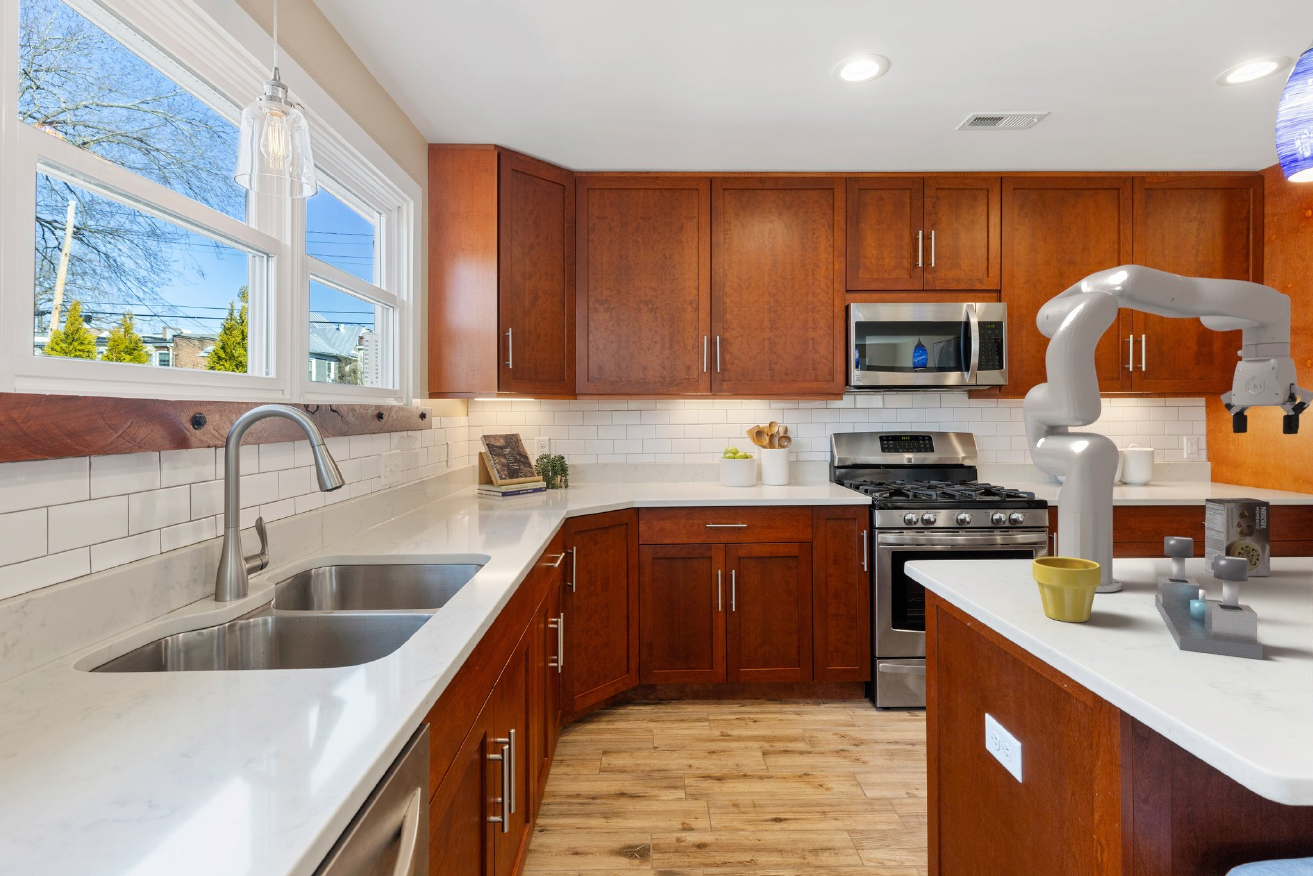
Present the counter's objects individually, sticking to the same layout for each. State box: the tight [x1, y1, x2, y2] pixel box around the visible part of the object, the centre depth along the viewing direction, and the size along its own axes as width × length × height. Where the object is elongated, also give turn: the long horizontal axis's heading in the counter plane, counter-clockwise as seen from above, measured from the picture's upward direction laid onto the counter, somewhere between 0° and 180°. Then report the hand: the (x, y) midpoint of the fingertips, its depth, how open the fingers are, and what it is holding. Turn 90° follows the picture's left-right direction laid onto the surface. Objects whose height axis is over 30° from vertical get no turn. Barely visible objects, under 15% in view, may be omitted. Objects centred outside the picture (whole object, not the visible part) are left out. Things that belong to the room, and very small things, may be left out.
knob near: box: [1213, 556, 1249, 606], centre depth 102 cm, size 4×4×7 cm
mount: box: [1154, 575, 1264, 661], centre depth 111 cm, size 10×26×6 cm, turn 150°
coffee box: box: [1204, 497, 1271, 577], centre depth 146 cm, size 9×6×16 cm
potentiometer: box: [1190, 588, 1206, 620], centre depth 111 cm, size 3×3×4 cm
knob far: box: [1163, 535, 1194, 579], centre depth 118 cm, size 4×4×7 cm
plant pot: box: [1031, 556, 1101, 623], centre depth 118 cm, size 10×10×10 cm
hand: (1264, 433), depth 144 cm, fingers open, 9 cm apart
